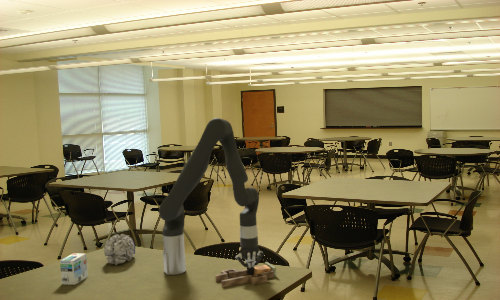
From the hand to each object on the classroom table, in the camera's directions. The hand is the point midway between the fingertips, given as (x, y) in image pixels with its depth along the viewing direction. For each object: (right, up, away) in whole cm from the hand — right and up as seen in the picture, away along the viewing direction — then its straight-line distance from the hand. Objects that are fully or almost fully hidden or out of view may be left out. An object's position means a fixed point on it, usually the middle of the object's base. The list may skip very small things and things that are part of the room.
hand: (250, 275), depth 197 cm
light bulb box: (-77, -4, +7) cm, 78 cm away
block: (+5, -1, +2) cm, 5 cm away
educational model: (-64, -2, +32) cm, 71 cm away
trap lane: (-2, -1, -1) cm, 3 cm away
